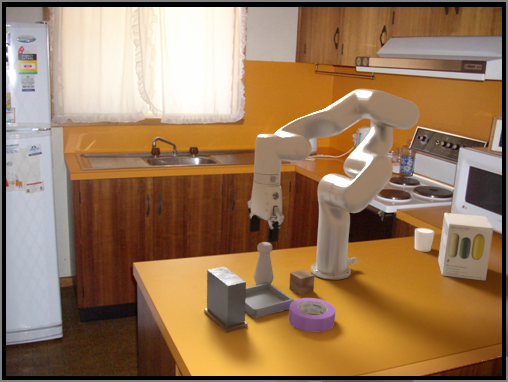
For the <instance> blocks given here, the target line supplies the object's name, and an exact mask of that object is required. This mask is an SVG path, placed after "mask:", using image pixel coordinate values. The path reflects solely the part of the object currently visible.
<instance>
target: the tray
mask: <svg viewBox="0 0 508 382" xmlns="http://www.w3.org/2000/svg"><path fill="white" fill-rule="evenodd" d="M293 301H295V299H294V298H292V297H291V296H289V295H288V294H287V293H285V292H284V291H282V290H281V289H279V288H278V287H276V286H274V285H273V284H272V283H271V284H270V283H265V284H260V285H256V284H255V285H253V286H248V287H246V300H245V313H247V314H248V315H249V316H251V317H252V318H253V319H257V318H261V317H265V316H269V315H272V314H276V313H279V312H282V311H286V310H287V311H288V310H289V308H290V304H291V303H292V302H293Z"/></svg>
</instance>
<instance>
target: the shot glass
mask: <svg viewBox="0 0 508 382" xmlns="http://www.w3.org/2000/svg"><path fill="white" fill-rule="evenodd" d="M435 233H436V232H435V230H433V229H430V228H426V227H417V228H416V227H415V228H414V249H415V250H416V251H419V252H423V253H424V252H425V253H426V252H430V251H431V250H432V245H433V242H434V238H435Z"/></svg>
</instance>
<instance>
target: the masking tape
mask: <svg viewBox="0 0 508 382" xmlns="http://www.w3.org/2000/svg"><path fill="white" fill-rule="evenodd" d="M288 311H289V312H288V321H289V323H290V324H291V325H292V327H294V328H295V329H298V330H301V331H305V332H309V333H320V332H327V331H328V330H331V329H332V328H333V327H334V325H335V317H336V308H335V307H334V305H333V304H332V303H330V302H328V301H327V300H323V299H321V298H320V299H319V298H313V297H303V298H301V297H300V298H297V299H294V301H293V302H292V303H291V304H290V308H289V309H288Z"/></svg>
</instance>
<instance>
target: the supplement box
mask: <svg viewBox="0 0 508 382" xmlns="http://www.w3.org/2000/svg"><path fill="white" fill-rule="evenodd" d="M441 229H442V230H441V234H440V235H441V237H440V242H439V243H440V244H439V251H438V258H437V259H438V260H437V262H438V265H439V268H440V273H441V275H442V276H443V277H444V276H445V277H450V278H458V279H459V278H460V279H461V278H462V279H468V280H477V281H487V273H488V268H489V267H488V266H489V260H490V253H491V245H492V241H493V233H494V227H493V225H492V224H491V222H490V221H489V219H488V217H487V216H486V215H477V214H475V215H474V214H473V215H472V214H466V213H453V212H451V213H450V212H444V214H443V221H442V227H441Z"/></svg>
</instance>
